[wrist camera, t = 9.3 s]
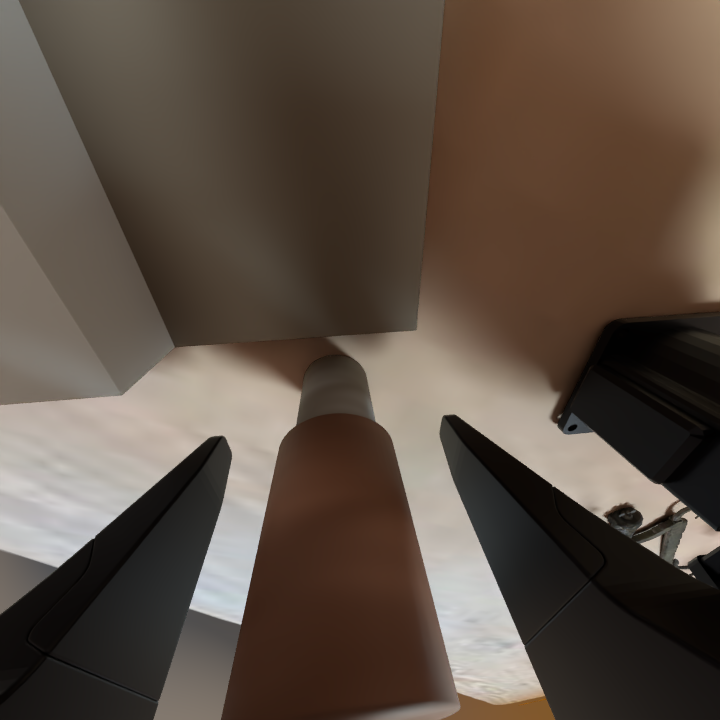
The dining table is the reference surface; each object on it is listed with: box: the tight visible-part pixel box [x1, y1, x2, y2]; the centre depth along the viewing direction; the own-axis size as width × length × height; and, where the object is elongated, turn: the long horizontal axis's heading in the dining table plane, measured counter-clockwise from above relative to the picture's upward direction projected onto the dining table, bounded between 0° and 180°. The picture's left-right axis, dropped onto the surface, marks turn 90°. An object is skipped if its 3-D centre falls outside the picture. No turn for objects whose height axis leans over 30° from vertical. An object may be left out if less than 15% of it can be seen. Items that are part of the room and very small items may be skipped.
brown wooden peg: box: [221, 355, 460, 720], centre depth 8 cm, size 4×4×9 cm
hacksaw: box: [608, 507, 699, 576], centre depth 25 cm, size 24×10×2 cm, turn 29°
